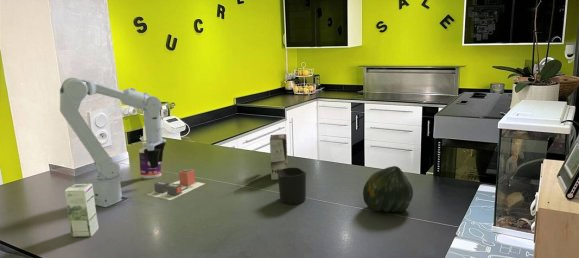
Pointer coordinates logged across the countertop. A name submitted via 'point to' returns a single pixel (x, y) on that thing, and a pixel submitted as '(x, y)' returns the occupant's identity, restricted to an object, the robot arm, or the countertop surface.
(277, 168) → the coffee box
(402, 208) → the squash
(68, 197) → the syrup box
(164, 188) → the block
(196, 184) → the board
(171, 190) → the breaker
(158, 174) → the pill bottle
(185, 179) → the cap
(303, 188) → the pen holder
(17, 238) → the countertop surface
